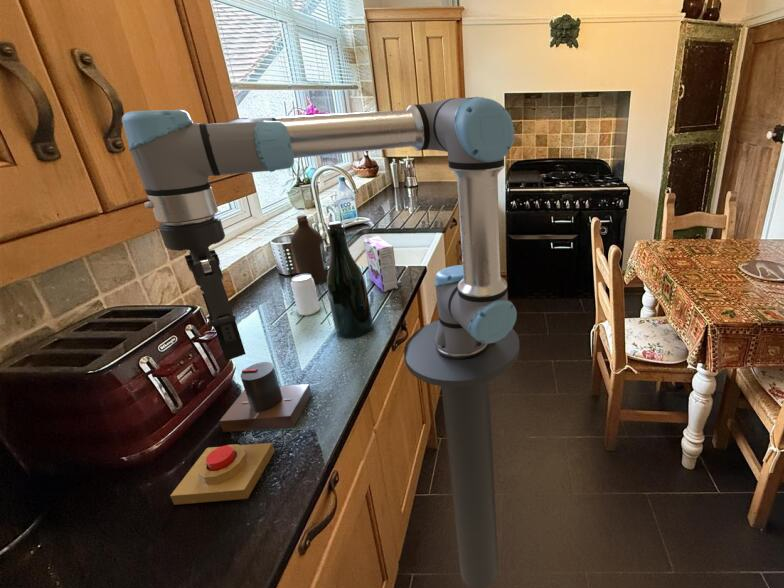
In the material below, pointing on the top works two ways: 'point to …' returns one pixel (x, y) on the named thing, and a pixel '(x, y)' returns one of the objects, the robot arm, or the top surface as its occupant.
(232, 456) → the light button
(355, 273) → the dark green wine bottle
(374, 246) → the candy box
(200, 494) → the switch block
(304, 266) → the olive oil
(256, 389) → the dimmer knob
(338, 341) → the top surface
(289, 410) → the panel
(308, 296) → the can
